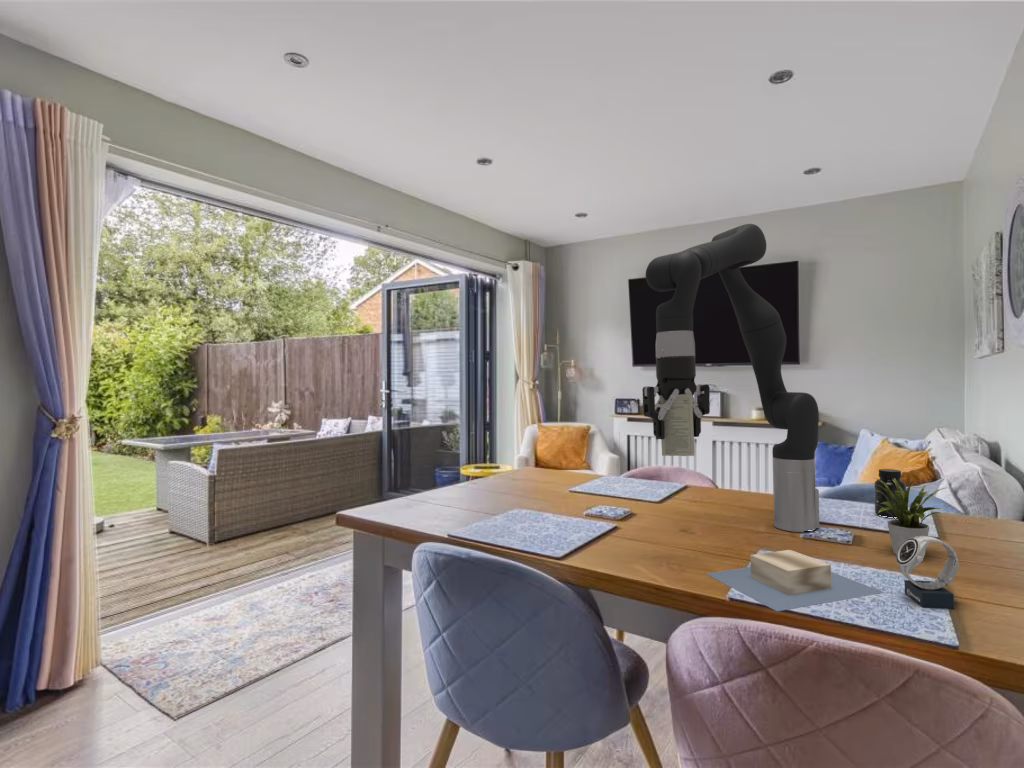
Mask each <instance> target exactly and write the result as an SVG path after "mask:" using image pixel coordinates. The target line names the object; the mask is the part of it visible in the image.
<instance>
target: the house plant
mask: <svg viewBox="0 0 1024 768" xmlns="http://www.w3.org/2000/svg"><path fill="white" fill-rule="evenodd" d="M874 479H876V480H879V479H880V478H876V477H874ZM894 480H895V481H894ZM894 480H893V482H894V483H895V485H896V487H897V491H895V495H896V497H897V499H898V501H897V500H896V498H895V497H894V495H893V493H892V492H891V490H890V489H889V487H888V486H887V485H886V484H885V483H884V482H883V481H881V480H879V481H881V482H882V483H883V484H884V485H885V487H886V488H887V489H885V488H884V487H882V486H880V485H878V484H875V483H871V482H869V484H870V485H871V484H872V485H874V484H875V485H878V486H880V487H881V488H883V489H884V490H885V491H886V492H887V493H888V494H889V495H890V496H891V498H892V499H893V500H894V502H895V503H896V505H897V506H898V508H899V510H898V509H897V508H896V507H895V506H894V505H893V504H892V503H891V502H890V500H889V499H888V498H887V496H886V495H885V494H884V493H883V492H881V491H880V490H878V489H876V490H878V491H880V492H881V493H882V494H883V495H884V496H885V497H886V498H887V500H888V501H889V502H883V503H881V504H885V505H887V506H888V508H883V507H882V508H881V509H880V510H879V512H882V511H885V510H886V511H887V510H888V509H889V508H891V510H892V511H893V512H894V514H895V515H896V517H897V518H898V519H895V518H894V517H893V516H892V515H891V514H890V513H889V512H888V511H887V512H888V513H889V514H890V515H891V516H892V517H893V518H894V519H891V520H888V521H887V522H886V523H887V528H888V533H889V537H890V543H891V547H892V552H893V554H894V555H897V551H898V549H899V547H900V546H901V544H902V543H903V542H904V541H906V540H907V539H909V538H915V537H918V536H929V532H930V525H928V524H927V523H924V522H923V521H924V520H925V519H926V518H927V517H929V516H931V515H936V514H941V512H937V511H936V512H935V511H934V510H941V509H942V508H940V507H933V506H930V507H928V506H927V507H924V506H923V505H924V504H925V503H926V502H927V500H929V499H930V498H931V497H933V496H934V495H936V494H937V493H938V492H939V491H943V490H944V489H946V487H942V488H939V489H936V490H935V491H933V492H931V493H930V494H929V495H928V496H926V494H928V492H930V491H929V490H928V491H925V486H926V485H925V484H924V485H923V486H922V488H921V489H920V490H919V493H918V495H917V496H915V498H914V499H913V501H911V503H910V505H909V497H910V496H909V495H910V491H911V487H912V486H913V485H914V484H915V483H916V481H914V482H913V483H912V484H910V483H911V482H912V480H913V478H911V479H910V481H909V484H908V486H907V487H906V493H904V491H903V489H902V488H901V487H900V486H899V483H898V481H897V480H896V479H895V478H894ZM948 488H949V486H947V489H948ZM872 489H873V490H875V488H874V487H872ZM924 497H925V498H924ZM923 498H924V499H923ZM898 502H899V503H898ZM869 504H871V505H872V503H869ZM876 505H877V504H876ZM880 507H881V506H880ZM932 510H933V511H934V512H931V513H928V514H927V515H925V513H926V512H927V511H932ZM879 512H878V513H879ZM920 520H921V521H920Z"/></svg>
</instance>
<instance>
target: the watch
mask: <svg viewBox="0 0 1024 768" xmlns="http://www.w3.org/2000/svg"><path fill="white" fill-rule="evenodd" d="M930 543H939V544H941V545H942V546H943V547H944V548H945V551H946V553H947V554H948V556H947V559H946V560H945V562H944V564H943V567H942V568H941V570H940V572H939V573H938V575H937V576H936V578H937V579H935V580H934V581H933V580H914V579H913V577H911V576H910V574H911V573H912V571H913V569H914V568H915V567H917V566H918V565H920V563H921V562H923V560H924V558H925V555H926V549H927V548H928V547H929V545H930ZM895 555H896V554H895ZM895 557H896V558H895V559H896V562H897V566H898V569H899V572H900V573H901V574H902V576H903V577H904V578H906V579H904V581H903V582H904V595H906V596H907V597H908V598H909V599H911V600H912V601H913V602H915V603H916V604H917V605H918V606H920V607H921V608H923V609H925V608H926V609H943V610H945V609H946V610H955V596H954V595H955V594H954V593H952V592H951V591H950V590H948V589H947V588H945V586H946V587H947V586H949V585H950V584H951V582H952V581H953V580H954V578H955V577H956V574H957V572H958V570H959V567H960V564H959V557H958V554H957V552H956V551H955V549H954V548H953V547H952V546H950V544H948V543H946V542H944V541H943V540H940V539H938V538H936V537H934V536H929V535H928V536H918V537H915V538H909V539H907V540H906V541H904V542H903V543H902V544H901V546H900V547H899V549H898V551H897V555H896V556H895Z"/></svg>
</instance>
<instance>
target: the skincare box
mask: <svg viewBox="0 0 1024 768" xmlns="http://www.w3.org/2000/svg"><path fill="white" fill-rule="evenodd" d="M658 397H659V398H658V400H659V399H660V405H661V404H664V403H665V402H666V400H665V399H664V398H663V397H662V395H658ZM660 409H661V408H660ZM662 420H664V428H665V438H664V439H660V441H661V456H664V457H667V456H668V457H676V456H677V457H678V456H679V457H694V456H695V453H696V452H695V437H694V428H693V406H692V394H678V395H677V397H676V398H675V400H674V402H673V404H672V405H671V407H670V409H669V410H668V411H667V412H666V414H665V416H664V418H663V419H662Z"/></svg>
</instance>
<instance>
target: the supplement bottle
mask: <svg viewBox="0 0 1024 768" xmlns="http://www.w3.org/2000/svg"><path fill="white" fill-rule="evenodd" d="M878 477H879V478H878V479H879V480H881V481H883V482H884V483H885V484H886V485H887V486H888V487H889V489H890V490H891V492H892V493H893V495H894V497H895V498H896V500H897V501H898V499H897V497H896V495H895V491H897V487H896V485H895V483H894V482H893V480H894V478H895V479H896V480H897V481H898V483H899V486H900V487H901V488H902V489H903V491H904V493H906V490H907V484H906V483H905V482H904V481H903V480H901V479H902V471H901V470H899V469H894V468H879V469H878ZM879 480H877V479H876V480H875V481H874V483H873V486H874V487H873V488H875V489H874V513H876V514H877V515H881V516H887V517H892V516H893V517H896V515H895V514H894V512H893V511H892V510H891V508H889V509H888V510H887V511H888V512H889V513H890V514H891V515H892V516H891V515H890V514H889V513H888V512H887V511H886V510H885V511H882V512H879V510H880V509H881V508H882V507H883V508H888V506H887V505H885V504H881V503H883V502H889V501H888V500H887V498H888V499H889V500H890V502H891V503H892V504H893V505H894V506H895V507H896V508H897V509H898V510H899V508H898V506H897V505H896V503H895V502H894V500H893V499H892V498H891V496H890V495H889V494H888V493H887V492H886V491H885V490H884V489H883V488H881V487H880V486H882V487H884V488H885V489H887V488H886V487H885V485H884V484H883V483H882V482H881V481H879ZM894 481H895V480H894ZM875 484H878V485H880V486H878V485H875ZM876 489H878V490H880V491H881V492H883V493H884V494H885V495H886V496H887V498H886V497H885V496H884V495H883V494H882V493H881V492H880V491H878V490H876ZM898 503H899V502H898ZM876 504H877V505H876ZM880 506H881V507H880ZM878 512H879V513H878ZM876 514H875V515H876ZM877 515H876V516H877Z"/></svg>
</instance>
